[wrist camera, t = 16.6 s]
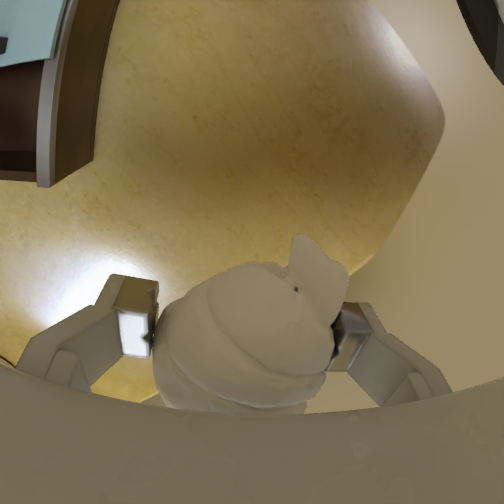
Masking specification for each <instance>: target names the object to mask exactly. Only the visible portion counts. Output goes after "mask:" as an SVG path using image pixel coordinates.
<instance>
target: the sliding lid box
mask: <svg viewBox="0 0 504 504" xmlns="http://www.w3.org/2000/svg"><path fill="white" fill-rule="evenodd" d="M118 3H119V0H67V2H66V5H65V9H64V12H63V16H62V20H61V24H60V28H59V32H58V36H57V41H56V45H55V50H54V56H53V58H50V59H43V60H36V61H30V62H24V63H19V64H13V65H8V66H4V67H0V180H13V181H27V182H37V187H45V188H50V187H52V186H53V185H55V184H56V183H58V182H59V181H61V180H62V179H64V178H65V177H67V176H68V175H70V174H72V173H73V172H75V171H76V170H78V169H80V168H81V167H83V166H85V165H86V164H88V163H89V162H91V161H93V150H94V136H95V124H96V115H97V106H98V98H99V91H100V84H101V78H102V72H103V66H104V61H105V56H106V51H107V46H108V42H109V37H110V33H111V29H112V25H113V21H114V17H115V13H116V10H117V6H118Z"/></svg>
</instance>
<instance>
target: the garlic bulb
mask: <svg viewBox="0 0 504 504" xmlns="http://www.w3.org/2000/svg"><path fill="white" fill-rule="evenodd" d="M348 283H349V276H348V272H347V270H346V268H345V267H344V266H343V265H342V264H341V263H339V262H338V261H335V260H333V259H331V258H330V257H328V256H327V255H326V254H325V253H324V252H323V251H322V250H321V249H320V248H319V247H318V246H317V245H316V243H315V242H314V241H313V240H312V239H311V238H309V237H308V236H306V235H305V234H298V235H296V236H294V237H293V239H292V244H291V250H290V256H289V263H288V266H286V267H281V266H279V265H278V264H277V263H274V262H263V263H260V262H255V261H252V262H247V263H244V264H241V265H239V266H235V267H232V268H230V269H228V270H226V271H224V272H222V273H221V274H220V275H215V276H213V277H211V278H209V279H208V280H206V281H204V282H202V283H200V284H198V285H197V286H195V287H193V288H192V289H191V290H189V291H188V292H187V293H186V295H185V296H184V297H182V298H180V299H177V300H175V301H173V302H172V303H170V304H169V305H167V306H166V308H165V309H164V310H163V312H162V314H161V316H160V318H159V319H158V322H157V324H156V327H155V330H154V336H153V343H152V354H153V374H154V380H155V384H156V387H157V390H158V392H159V394H160V395H161V397H162V398H163V401H164V402H165V404H166V406H167V407H169V408H177V409H185V410H194V411H205V412H218V413H234V414H303V413H304V412H305V409H306V407H307V400H310V399H312V398H313V397H315V396H316V394H317V393H318V391H319V390H320V388H321V386H322V385H323V383H324V381H325V379H326V373H325V370H324V369H325V368H327V367H328V365H329V363H330V359H331V356H332V353H333V350H334V346H335V343H334V339H333V332H332V328H331V326H330V325H331V324H332V323H333V322H334V321H335V319H336V317H337V315H338V313H339V311H340V309H341V307H342V305H343V301H344V297H345V295H346V292H347V288H348Z"/></svg>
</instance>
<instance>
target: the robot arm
mask: <svg viewBox="0 0 504 504" xmlns="http://www.w3.org/2000/svg"><path fill="white" fill-rule="evenodd" d="M494 2H495V5H496V8H497V10H498V13H499V15H500V18H501V20H502V22H503V24H504V0H494ZM158 293H159V283H158V281H153V280H147V279H142V278H136V277H130V276H124V275H118V274H111V275H110V276H109V278H108V280H107V282H106V284H105V285H104V287H103V289H102V291H101V293H100V295H99V297H98V299H97V301H96V303H95V305H94V306H93V305H89V306H87V307H85V308H83V309H82V310H80V311H78V312H76V313H74V314H73V315H71V316H69V317H67V318H65V319H64V320H62V321H60V322H58V323H57V324H55V325H53V326H51V327H50V328H48V329H46V330H44V331H43V332H41V333H39V334H37V335H36V336H34V337H32V338H31V339H30V341H29V342H28V344H27V346H26V348H25V350H24V352H23V353H22V355H21V357H20V359H19V361H18V363H17V365H16V367H15V369H14V368H11V367H8V366H6V365H3V364H1V363H0V504H504V377H502V378H499V379H497V380H493V381H490V382H487V383H484V384H481V385H478V386H474V387H471V388H467V389H464V390H460V391H456V392H452V390H451V388H450V386H449V385H448V383H447V381H446V379H445V378H444V376H443V374H442V372H441V371H440V369H439V368H438V367H437V366H435V365H434V364H433V363H431V362H430V361H428V360H427V359H425V358H424V357H423V356H421V355H420V354H419V353H417V352H416V351H414V350H413V349H412V348H410V347H409V346H407V345H406V344H405V343H403V342H402V341H400V340H399V339H398V338H396V337H395V336H394V335H392V334H387V332H386V330H385V329H384V327H383V325H382V323H381V322H380V320H379V318H378V316H377V315H376V313H375V311H374V310H373V308H372V306H371V305H370V304H369V303H361V302H355V303H351V302H343V305H342V307H341V309H340V311H339V313H338V315H337V317H336V319H335V321H334V322H333V323H332V324H331V325H330V326H331V328H332V332H333V339H334V343H335V346H334V350H333V353H332V356H331V359H330V363H329V365H328V367H327V368H325V369H324V370H325V371H327V372H328V371H329V372H331V371H332V372H339V371H340V372H347V373H348V374H349V375H350V376H351V377H352V378H353V379H354V380H355V381H356V382H357V383H358V384H359V386H360V387H361V388H362V389H363V390H364V391H365V392H366V393H367V394H368V395H369V396H370V397H371V398H372V399H373V400H374V401H375V402H376V403H377V404H378V405H379V406H380V407H375V408H368V409H359V410H351V411H341V412H328V413H313V414H234V413H218V412H205V411H194V410H185V409H177V408H169V407H161V406H155V405H149V404H143V403H137V402H131V401H126V400H121V399H116V398H112V397H107V396H103V395H98V394H94V393H92V392H91V389H90V386H91V385H92V384H93V383H94V382H95V381H96V380H97V379H99V378H100V377H101V376H102V375H103V374H104V373H105V372H106V371H107V370H108V369H109V368H111V367H112V366H113V365H114V364H115V363H116V362H117V361H118V360H119V359H120V358H121V357H123V356H122V355H126V356H133V357H140V358H147V359H149V358H150V354H151V349H152V343H153V334H154V330H155V327H156V324H157V321H158V309H159V304H158V302H157V297H158Z"/></svg>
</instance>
